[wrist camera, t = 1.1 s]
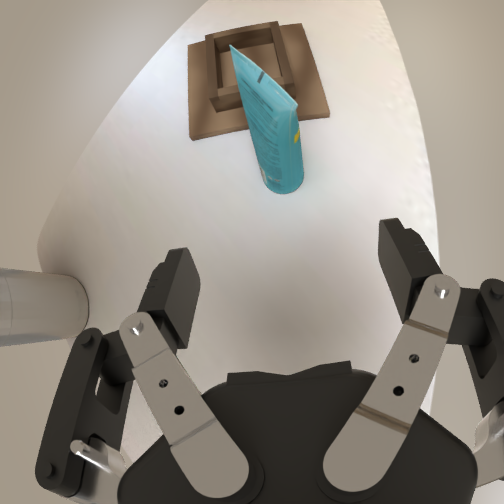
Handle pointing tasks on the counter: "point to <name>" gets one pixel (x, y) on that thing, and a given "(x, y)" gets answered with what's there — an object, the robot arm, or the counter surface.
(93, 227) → the counter surface
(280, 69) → the socket board
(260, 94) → the tube
